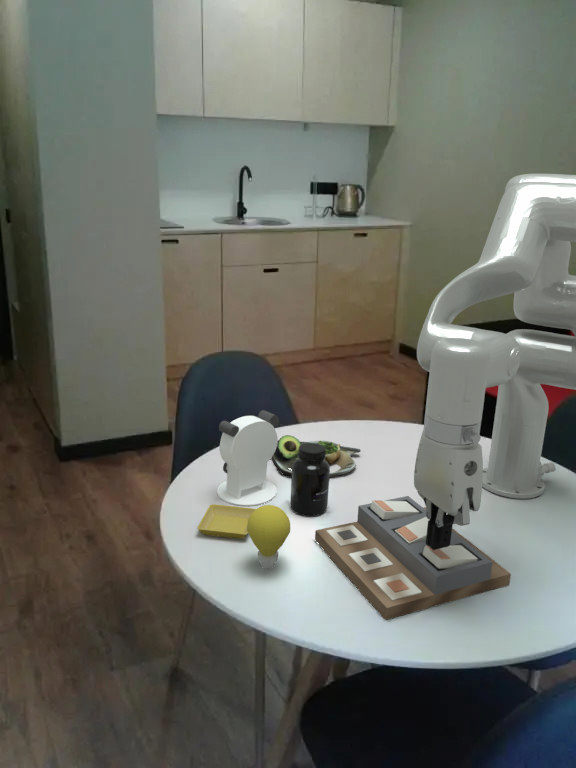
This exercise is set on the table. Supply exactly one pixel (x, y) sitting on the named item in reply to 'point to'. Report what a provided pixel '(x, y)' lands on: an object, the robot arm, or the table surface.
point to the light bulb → (268, 533)
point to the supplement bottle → (310, 480)
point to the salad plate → (334, 454)
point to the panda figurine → (248, 459)
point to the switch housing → (413, 553)
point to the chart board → (392, 572)
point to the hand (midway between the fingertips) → (437, 545)
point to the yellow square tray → (225, 521)
